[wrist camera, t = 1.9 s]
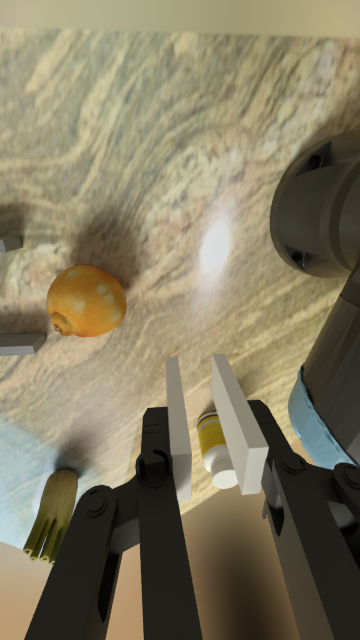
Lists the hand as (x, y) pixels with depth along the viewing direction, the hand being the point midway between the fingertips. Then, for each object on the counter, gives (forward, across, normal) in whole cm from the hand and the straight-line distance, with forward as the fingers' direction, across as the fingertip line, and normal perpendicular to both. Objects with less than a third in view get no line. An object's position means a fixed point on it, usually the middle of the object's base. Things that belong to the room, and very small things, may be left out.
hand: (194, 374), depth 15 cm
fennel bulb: (+19, +20, +34) cm, 44 cm away
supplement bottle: (+19, -6, +24) cm, 31 cm away
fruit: (+19, +10, 0) cm, 21 cm away
